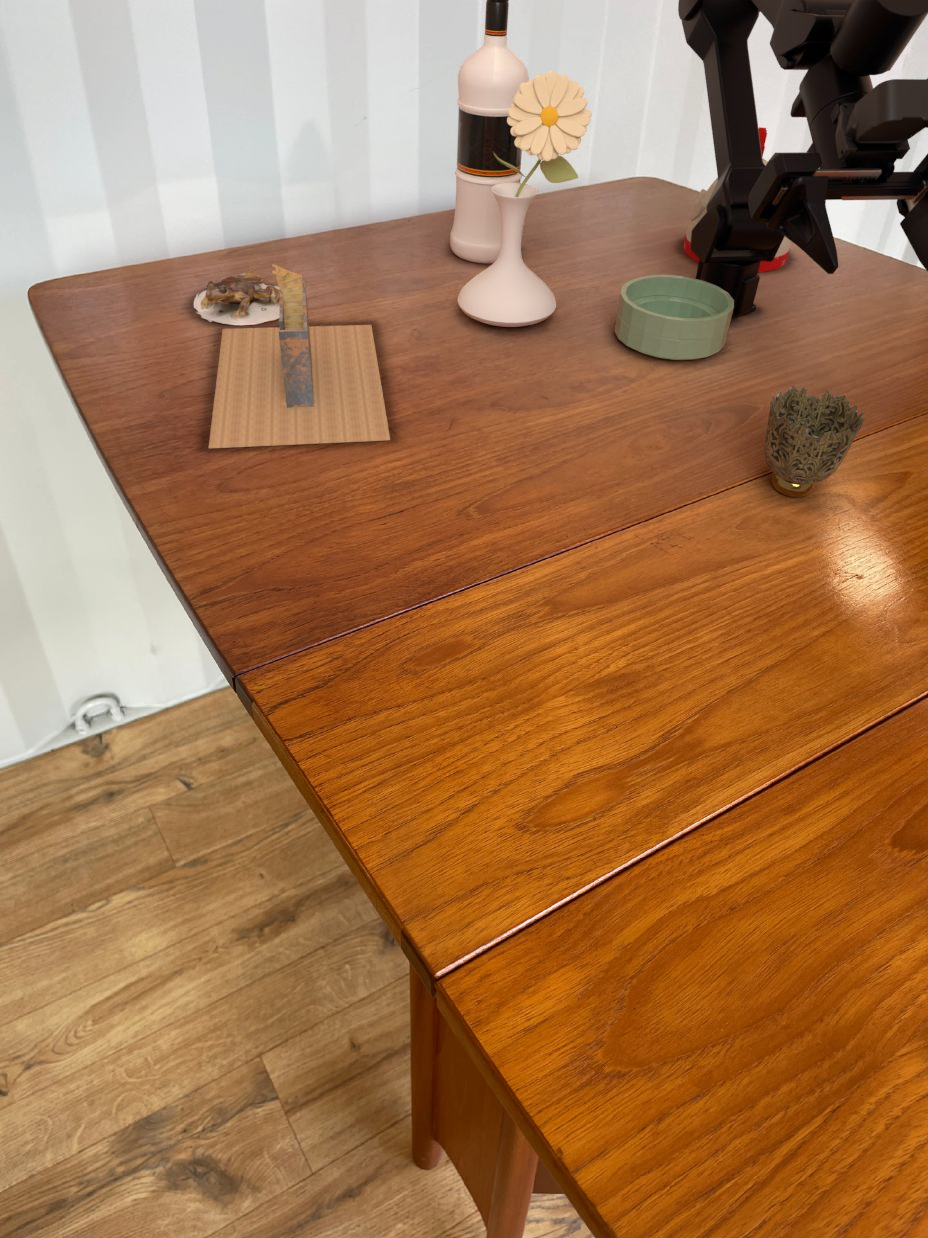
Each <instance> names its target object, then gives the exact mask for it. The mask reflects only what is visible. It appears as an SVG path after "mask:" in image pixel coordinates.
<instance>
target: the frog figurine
mask: <svg viewBox="0 0 928 1238" xmlns="http://www.w3.org/2000/svg"><path fill="white" fill-rule="evenodd" d="M206 287H207V288H204V289H203V290H201V292H198V293H196V294H195V297H194V300H193V308H194V309H195V313H196V314H198V315H199V316H200V318H201V319H203V320H206V321H208V322H209V323H213V322H215V323H219V324H223V325H229V326H251V325H253V326H254V325H260V324H264V323H266V322H272V321H276V320H279V308H280V297H279V292H280V287H279V284H274V285H270V284H269V285H268V284H265V283H264V279H263V277H262V276H261V275H259V274H258V273H256V272H255V270H252V269H250V270H248V271H246V272H242V273H240V274H239V275H237V276H236V277H234V276H231V275H230V276H227V277H225V278H223V279H221V281H218V282H213V280H209V281H208V282H207V285H206Z"/></svg>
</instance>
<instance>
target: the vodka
mask: <svg viewBox="0 0 928 1238" xmlns="http://www.w3.org/2000/svg"><path fill="white" fill-rule="evenodd" d="M509 1H510V0H486V2H485V15H484V16H485V20H484V21H485V22H484V36H483V44H482V46H481V47H479V48H478V49H477V50H476V51H475V52H473V53H472V54H471V55H470V56H468V57H467V58H466V59H464V61H463V62H462V64H461V65H460V67H459V70H458V73H457V90H458V91H457V92H458V98H457V100H456V101H457V102H456V103H457V106H458V111H457V113H458V115H457V145H456V146H457V147H456V150H457V151H456V169H455V171H454V174H455V192H456V193H455V205H454V206H455V207H454V216H453V221H452V227H451V230H450V234H449V246H450V250H451V251H452V253H453V254H454V255H456V256H457V257H459V258H460V259H461V260H463V261H467V262H470V263H474V264H483V265H492V264H493V263H494V262H495V261H496V260H497V258H498V256H499V252H500V247H501V232H502V229H501V215H500V209H499V205H498V202H497V200H496V198H495V196H494V194H493V193H492V191H491V188H492V187H493V186H494V185H497V184H500V183H521V181H522V177H523V176H522V175H521V174H519V173H518V172H516V171H514V170H513V169H511V168H509V167H507V166H505V165H504V164H502V163H501V162H499V161H498V160H497V159H496V157H495V155H494V153H495V154H496V156H497V157H498V158H500V159H501V160H503V161H504V162H507V163H509V164H511V165H513V166H514V167H516V168H517V169H518V170H519V171H520V172H521V173H522V171H521V169H522V157H523V156H522V155H523V151H522V150H521V149H520V148H518V147H516V146H515V143H514V141H515V139H516V137H515V136H513V135H512V134H511V128H512V127H513V126H510V125H509V124H508V123H507V118H508V117H509V114H508V112H509V109H510V108H512V107H511V104H512V102H513V101H514V97H515V95H517V91H518V90H519V87H520V85H521V83H523V82H525V83H527V82H528V81H530V77H529V72H528V69H527V67H526V65H525V63H524V62H523V60H521V59H520V58H519V57H518V56H517V55H516V54H515V53H514V51H512V50H511V49H510V48H509V47H508V45H507V43H508V41H507V40H508V38H507V37H508V22H509V5H510V3H509ZM493 152H494V153H493Z"/></svg>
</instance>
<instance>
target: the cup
mask: <svg viewBox="0 0 928 1238" xmlns="http://www.w3.org/2000/svg"><path fill="white" fill-rule="evenodd" d="M807 392H808V389H807V387H802V388H801V389H800V390H799V389H798V388H797V386H795V385H792V386H790V387H789V388H788V389H787V390H786V391H785V393H784V394H783V392H782V390H781V389H780V390H779V391H778V392H777V395H776V396H774V395H773V396H772V398H771V401H770V407H769V412H768V413H769V414H768V419H767V424H766V430H765V436H764V447H763V448H764V451H763V452H764V458H765V462H766V464H767V466H768V468H769V469H770V471H771V472H772V475H771V483H772V486H773V488H774V489H775V491H777V492H778V493H780V494H782V495H785V496H787V497H791V498H801V497H805V496H807V495H810V493H812V491H813V490H814V489H815V487H816V484H818V483H821V482H823V481H826V480H827V479H828V478H830V477H831V476H833V474H834V473H836V471H837V470H838V468H839V467H840V466H841V464H842V463H843V462H844V459H846V456H847V454H848V452H849V451H850V448H851V447H852V445H853V443H854V441H855V439H856V437H857V435H858V433H859V431H860V430H861V428H862V426H863V424H864V422H865V418H864V414H865V412H861V413H860V414H859V415H858V413H859V404H855V405H854V406H853V407H851V405H850V401H849V400H848V398H847V396H846V395H845V394H840V395H835V396H834V395H833V393H832V392H831V391H829V390H824V391H823V392H822V393H821V396H820V397H819V398H817V397H816V396H814V395H811V396H810V395H808V394H807Z"/></svg>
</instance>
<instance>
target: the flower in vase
mask: <svg viewBox="0 0 928 1238" xmlns="http://www.w3.org/2000/svg"><path fill="white" fill-rule="evenodd" d="M584 95H585V89H584V88H583V87H582V86H581V85H580V83H579V82H577V81H573V80H571V79H570V78H569V76H568V75H566V74H562V75H561V74H559V73H557V72H556V71H555V70H550V71H548V72H547V74H536V75H535V76H534V78H533V80H530V79H529V81H528V82H527V83H525V82H523V83H521V85H520V87H519V90H518V91H517V95H515V97H514V101H513V102H512V104H511V107H512V108H510V109H509V112H508V114H509V117H508V118H507V123H508V124H509V125H510V126H513V127H512V128H511V134H512V135H513V136H515V137H516V139H515V141H514V143H515V146H516V147H518V148H520V149H521V150H522V152H526V153H527V155H528V156H536V157H537V161H536V163H535V164H534V165H533V167H532V168H531V169H530V171H529V172H528V173H527V175H526V176H525V174H524V173H522V171H521V170H520V171H521V172H520V171H519V170H518V169H517V168H516V167H514V166H513V165H511V164H509V163H507V162H504V161H503V160H501V159H500V158H498V157H497V156H496V154H495V153H494V152H493V153H494V155H495V157H496V159H497V160H498V161H499V162H501V163H502V164H504V165H505V166H507V167H509V168H511V169H513V170H514V171H516V172H518V173H519V174H521V175H522V177H524V179H523V181H522V182H520V183H500V184H497V185H494V186H493V187H492V188H491V191H492V193H493V194H494V196H495V198H496V200H497V202H498V205H499V209H500V215H501V229H502V232H501V247H500V252H499V256H498V258H497V260H496V261H495V262H494V263H493V264H490V265H489V266H488V267H487V268H485V269H484V270H482V271H480V272H479V273H477V274H476V275H474V277H473V278H471V279H470V280H468V281H467V282H466V283H465V284H464V285H463V287H461V289H460V291H459V293H458V296H457V304H458V306H459V308H460V309H461V311H462V312H463V313H464V314H465V315H466V316H468V317H469V318H470V319H473V320H475V321H477V322H480V323H483V324H485V325H490V326H495V327H504V328H518V327H526V326H527V327H528V326H532V325H536V324H538V323H542V322H543V321H546V320H547V319H548V318H550V317H551V315H552V314H553V313H554V312H555V310H556V309H557V301H556V297H555V294H554V292H553V291H552V290H551V289H550V287H549V286H548V284H546V283H545V282H544V281H543V280H542V278H540V277H539V276H538V275H537V274H536V273H535V272H534V271H532V270H531V269H530V268H529V266H527V265H526V263H525V262H524V260H523V257H522V238H523V231H524V225H525V220H526V217H527V212H528V210H529V207H530V206H531V204H532V202H533V201H534V199H535V198H536V197H537V196H538V194H539V190H538V188H536V186H533V185H531V184H526V183H527V182H528V181H529V179H530V178H531V177H532V175H533V174H534V173H535V171H536V170H537V168H538V167H539V169H540V172H541V173H542V175H543V176H544V177H545V179H546V181H548V182H549V183H552V184H561V183H566V182H570V181H573V180H577V179H579V175H578V173H577V172H576V170H575V168H574V167H573V166H572V164H571V163H570V162H569V161H568V160H567V159H566V158H565V157H563V156H564V155H568V154H570V153H571V152H572V151H577V150H578V149H579V146H580V145H581V143H582V137H584V136H585V134H586V133H587V130H588V128H587V126H589V125H590V123H591V117H592V111H591V110H590V109H588V108H587V106H588V103H589V102H588V99H587V98H586V97H584Z"/></svg>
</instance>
